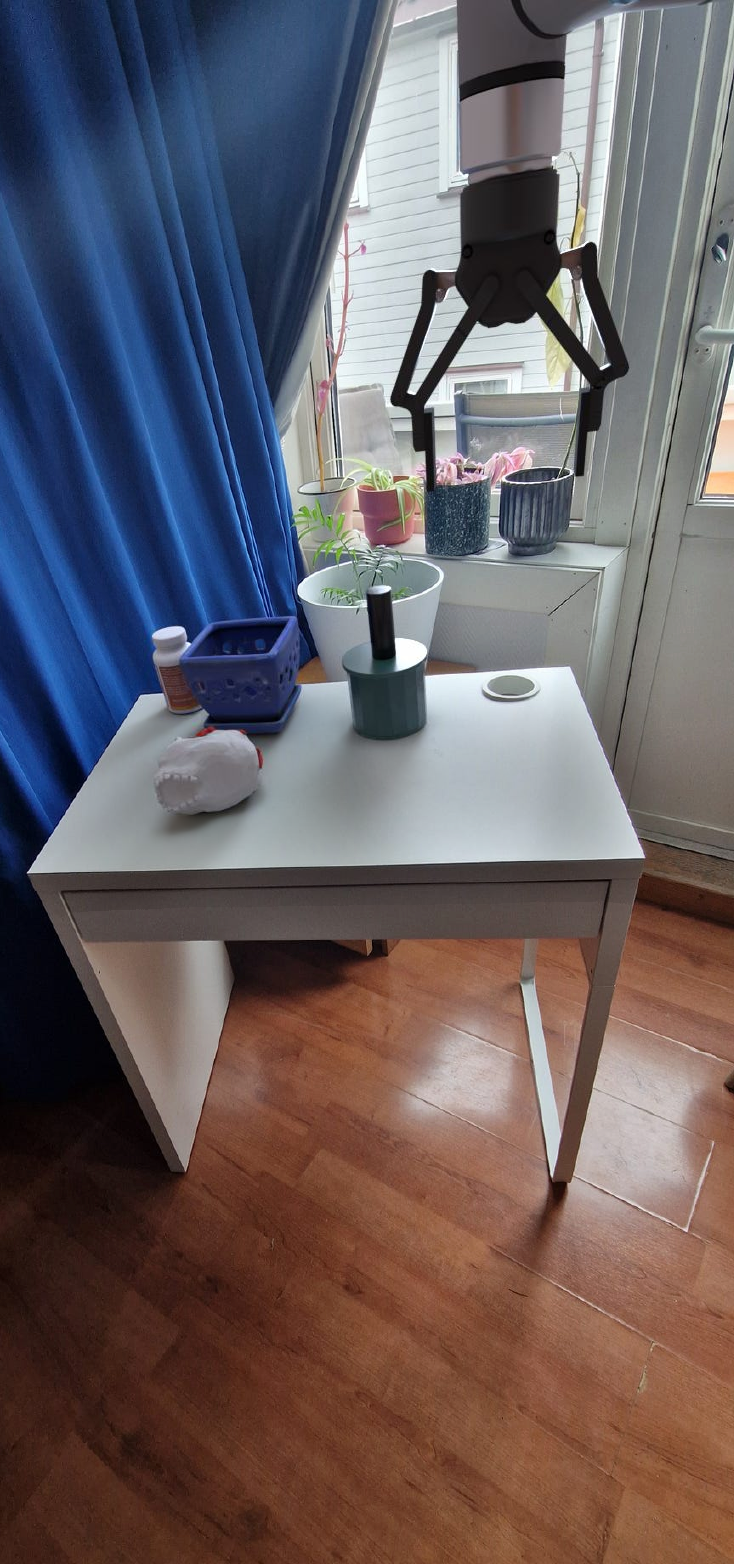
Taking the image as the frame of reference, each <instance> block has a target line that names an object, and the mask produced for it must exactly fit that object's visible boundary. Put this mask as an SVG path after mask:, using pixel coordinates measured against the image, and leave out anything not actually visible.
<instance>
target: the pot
mask: <svg viewBox="0 0 734 1564" xmlns="http://www.w3.org/2000/svg"><path fill="white" fill-rule="evenodd" d="M425 663H426V662H425ZM425 663H424V664H423V665H422V666H420V667H419V668H417V669H415V670H413V671H411V672H409V673H406V674H403V675H399V676H395V677H389V678H379V679H371V678H361V677H357V676H353V675H351V674H349V673H347V672H346V679H347V686H348V694H349V703H350V710H351V720H352V724H353V728H354V730H355V732H356V733H357V734H359V735H360V736H362V737H364V738H368V739H371V740H377V741H378V740H379V741H383V740H384V741H387V740H398V739H402V738H405V737H408V736H411V735H414V734H415V733H418V731H420V730H421V729H423V728H424V727H425V725H426V724H427V719H428V705H427V685H426V666H425Z"/></svg>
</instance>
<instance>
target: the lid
mask: <svg viewBox="0 0 734 1564" xmlns="http://www.w3.org/2000/svg"><path fill="white" fill-rule="evenodd" d="M392 592H393V591H392V587H391V586H389V585H375V586H371V587H369V588H367V589H366V590H365V598H366V599H365V600H366V608H367V619H368V629H369V639H370V641H367V642H363V643H361V644H358V645H356V646H354V647H352V648H350V649H349V650H347V651H346V652H345V653H344V654H343V656H342V658H341V666H342V669H343V670H344V672H345V673H346V674H347V673H349V674H351V675H353V676H357V677H361V678H371V679H379V678H389V677H395V676H399V675H403V674H406V673H409V672H411V671H413V670H415V669H417V668H419V667H420V666H422V665H423V664H424V663H426V661H427V660H428V648H427V647H426V645H424V644H423V643H421V642H420V641H416V640H413V639H408V638H402V637H401V638H400V637H397V638H396V633H395V632H396V631H395V620H394V617H395V616H394V606H393V605H394V604H393V595H392Z"/></svg>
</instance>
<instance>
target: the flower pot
mask: <svg viewBox="0 0 734 1564" xmlns="http://www.w3.org/2000/svg"><path fill="white" fill-rule="evenodd" d="M259 640H263V642H264V647H262V648H259V647H258V645H257V643H256V641H259ZM190 644H191V645H190V646H189V647H188V648H187V649H186V651H185V652H184V653H183V654H182V656H181V657H180V659H179V664H180V667H181V670H182V673H183V675H184V677H185V679H186V682H187V684H188V686H189V688H190V690H191V692H192V693H193V695H194V697H195V698H196V700H197V701H198V703H199V704H200V705H201V706H202V708H201V709H203V710H204V711H205V712H206V713H207V714H208V715H207V716H206V719H205V720H204V722H203V725H202V726H203V728H204V730H205V729H207V728H208V727H214V728H215V729H216V730H228V729H233V730H240V729H241V730H244V731H245V732H246V734H275V733H276V734H277V733H279V732H280V731H281V730H282V728H283V727H284V725H285V723H286V722H287V720H288V717H289V716H290V714H291V712H292V711H293V709H294V707H295V705H296V703H297V701H298V699H299V697H300V695H301V692H302V688H303V687H302V684H300V683H296V682H297V678H298V673H299V666H300V653H301V646H300V630H299V621H298V618H297V616H294V615H291V616H290V615H289V616H288V615H287V616H269V617H256V618H243V619H233V620H223V621H214V622H210V623H208V624H207V625H206V626H205V627H204V628H203V629H202V631H201V632H200V633H198V634H197V636H196V637H195V638H194V639H193V641H192V642H191V643H190ZM225 644H227V645H229V646H231V648H230V649H231V650H230V651H228V650H225ZM239 648H241V649H242V652H240V651H239ZM198 682H199V683H200V686H201V688H202V691H201V690H200V687H199V684H198Z"/></svg>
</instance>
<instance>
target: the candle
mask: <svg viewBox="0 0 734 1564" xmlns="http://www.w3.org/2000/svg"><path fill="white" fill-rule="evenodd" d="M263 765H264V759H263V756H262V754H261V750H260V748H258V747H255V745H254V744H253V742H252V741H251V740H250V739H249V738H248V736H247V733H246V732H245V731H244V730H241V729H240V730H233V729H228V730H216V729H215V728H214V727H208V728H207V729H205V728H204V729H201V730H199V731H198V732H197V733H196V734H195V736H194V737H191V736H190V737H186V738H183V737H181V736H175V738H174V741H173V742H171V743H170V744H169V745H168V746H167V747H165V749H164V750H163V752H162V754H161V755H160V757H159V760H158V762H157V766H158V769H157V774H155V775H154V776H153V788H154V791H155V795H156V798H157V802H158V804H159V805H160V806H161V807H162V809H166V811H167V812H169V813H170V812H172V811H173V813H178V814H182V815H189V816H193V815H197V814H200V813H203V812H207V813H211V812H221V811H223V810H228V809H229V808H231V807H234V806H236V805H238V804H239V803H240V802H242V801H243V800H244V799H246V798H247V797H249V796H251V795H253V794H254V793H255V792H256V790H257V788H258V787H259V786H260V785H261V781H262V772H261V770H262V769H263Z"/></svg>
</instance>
